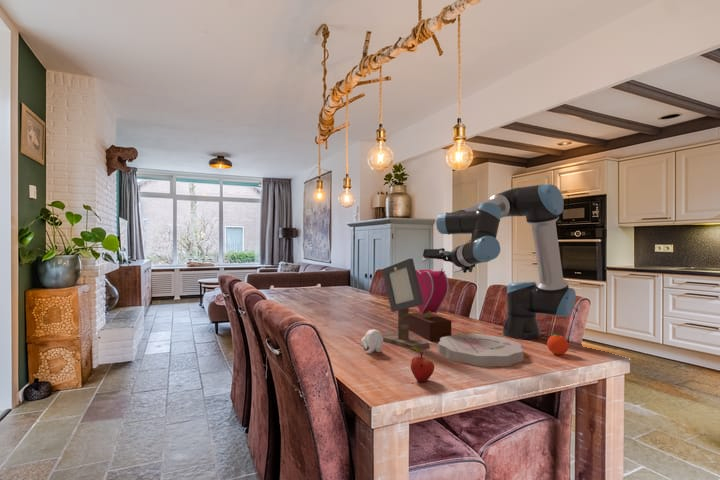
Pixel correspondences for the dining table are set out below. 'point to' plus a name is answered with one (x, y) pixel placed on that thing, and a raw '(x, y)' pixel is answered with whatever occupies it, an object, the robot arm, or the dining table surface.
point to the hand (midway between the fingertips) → (439, 263)
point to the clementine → (557, 344)
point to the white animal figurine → (372, 341)
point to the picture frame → (402, 285)
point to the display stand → (404, 333)
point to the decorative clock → (431, 306)
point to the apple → (421, 367)
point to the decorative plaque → (480, 349)
